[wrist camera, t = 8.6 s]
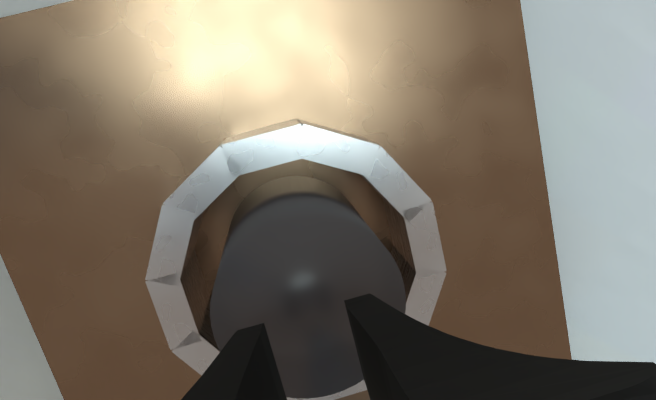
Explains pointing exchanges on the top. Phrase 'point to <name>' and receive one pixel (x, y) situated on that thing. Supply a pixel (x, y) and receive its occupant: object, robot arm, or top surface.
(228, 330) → the dark gray cylinder
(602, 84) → the top surface
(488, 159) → the square bronze board
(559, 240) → the top surface
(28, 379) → the top surface
